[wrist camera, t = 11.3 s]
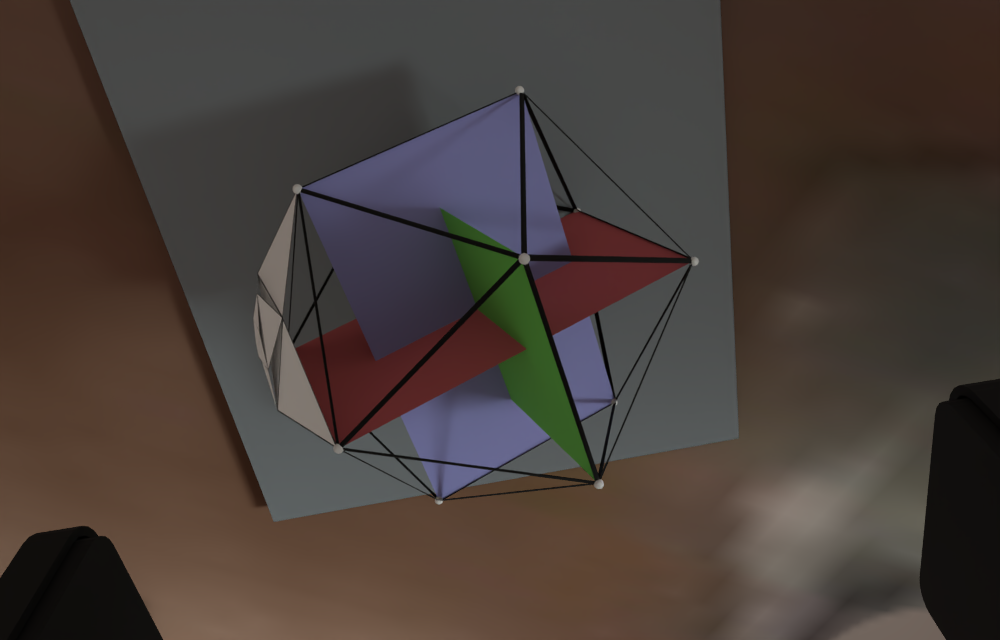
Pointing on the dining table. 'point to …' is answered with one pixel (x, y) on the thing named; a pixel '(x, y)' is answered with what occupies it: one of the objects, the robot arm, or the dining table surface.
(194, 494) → the dining table surface
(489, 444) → the geometric puzzle
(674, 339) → the mat
